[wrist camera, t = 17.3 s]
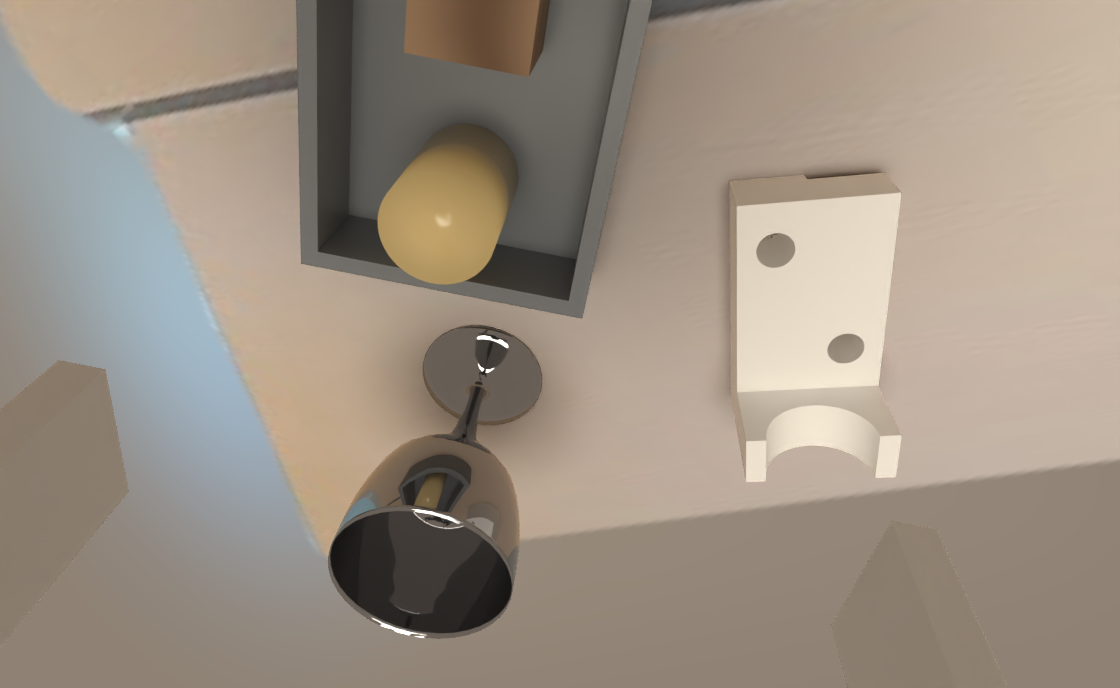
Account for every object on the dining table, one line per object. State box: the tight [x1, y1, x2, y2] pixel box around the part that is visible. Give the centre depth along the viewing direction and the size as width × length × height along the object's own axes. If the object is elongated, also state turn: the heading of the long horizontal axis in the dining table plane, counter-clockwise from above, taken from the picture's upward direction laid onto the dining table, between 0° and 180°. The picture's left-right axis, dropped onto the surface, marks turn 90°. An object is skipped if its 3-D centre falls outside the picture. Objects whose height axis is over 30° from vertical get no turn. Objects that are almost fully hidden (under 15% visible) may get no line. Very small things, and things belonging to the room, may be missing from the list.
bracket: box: [729, 173, 902, 482], centre depth 37 cm, size 13×7×8 cm, turn 7°
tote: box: [296, 0, 652, 318], centre depth 33 cm, size 18×14×5 cm
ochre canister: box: [378, 124, 519, 285], centre depth 34 cm, size 5×5×7 cm
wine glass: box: [328, 326, 542, 639], centre depth 38 cm, size 8×8×15 cm
